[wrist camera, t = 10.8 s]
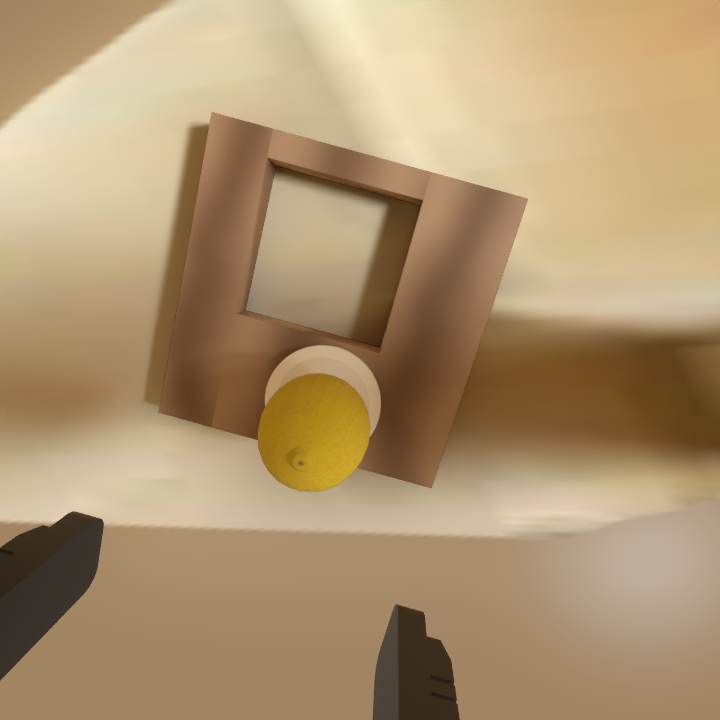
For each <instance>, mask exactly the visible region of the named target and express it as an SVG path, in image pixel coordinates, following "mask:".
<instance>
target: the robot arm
mask: <svg viewBox="0 0 720 720" xmlns="http://www.w3.org/2000/svg"><path fill="white" fill-rule="evenodd" d="M103 526H104V523H103V520H102V519H100V518H96V517H93V516H89V515H86V514H82V513H79V512H70V513H68V514H67V515H66V516H64V517H63V518H62V519H60V520H59V521H57V522H56V523H55V524H53V525H52V526H51V527H48V526H44V525H42V526H40V527H38V528H35V529H32V530H30V531H27V532H25V533H22V534H20V535H18V536H16V537H15V538H14V539H12V540H11V541H9V542H8V543H6V544H5V545H4V546H2V547H1V548H0V680H1V679H2V678H3V677H4V676H5V675H6V674H7V673H8V672H9V671H10V670H11V669H12V668H13V667H14V666H15V665H16V664H17V662H19V661H20V660H21V658H22V657H23V656H24V655H25V654H26V653H27V652H28V651H29V650H30V649H31V648H32V647H33V646H34V645H35V644H36V643H37V642H38V641H39V640H40V639H41V638H42V637H43V636H44V635H45V634H46V633H47V632H48V630H49V629H50V628H51V627H52V626H53V625H54V624H55V623H56V622H57V621H58V620H59V619H60V618H61V617H62V616H63V615H64V614H65V613H66V612H67V611H68V610H69V609H70V608H71V606H73V604H75V603H76V601H77V600H78V599H79V598H80V597H81V596H82V595H83V594H84V593H85V592H86V591H87V589H88V588H89V586H90V584H91V583H92V581H93V579H94V577H95V574H96V571H97V567H98V561H99V554H100V547H101V540H102V534H103ZM425 625H426V624H425V615H424V612H422V611H418V610H415V609H411V608H407V607H404V606H401V605H397V604H396V605H395V607H394V609H393V612H392V615H391V618H390V621H389V624H388V627H387V630H386V633H385V636H384V639H383V643H382V646H381V649H380V652H379V656H378V660H377V666H376V673H375V683H374V703H373V720H460V719H459V712H458V705H457V704H456V700H457V698H456V691H455V686H454V677H453V670H452V663H451V659H450V657H449V656H448V654H447V652H446V650H445V648H444V646H443V644H442V642H441V640H438V639H434V638H431V637H427V636H426V626H425Z"/></svg>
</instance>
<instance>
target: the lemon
mask: <svg viewBox="0 0 720 720" xmlns="http://www.w3.org/2000/svg"><path fill="white" fill-rule="evenodd" d="M369 436H370V420H369V413H368V410H367V408H366V405H365V403H364V401H363V399H362V397H361V396H360V395H359V393H358V392H357V391H356V389H355V388H353V387H352V386H351V385H350V384H348V383H347V382H346V381H344V380H342V379H340V378H338V377H336V376H333V375H328V374H323V373H314V374H306V375H303V376H300V377H296V378H294V379H292V380H290V381H289V382H287V383H286V384H284V385H283V386H281V387H280V388H279V389H278V390H277V391H276V392H275V393H274V395H273V396H272V397H271V398H270V399H269V401H268V403H267V405H266V407H265V409H264V411H263V413H262V415H261V419H260V424H259V429H258V447H259V451H260V454H261V457H262V460H263V463H264V464H265V466H266V468H267V469H268V471H269V472H270V473H271V474H272V475H273V476H274V477H275V478H276V479H277V480H278V481H279V482H281V483H282V484H284V485H286V486H287V487H289V488H292V489H296V490H299V491H306V492H316V491H323V490H326V489H329V488H331V487H333V486H336V485H338V484H339V483H341V482H342V481H343V480H345V479H346V478H347V477H349V476H350V475H351V474H352V473H353V471H354V470H355V469H356V467H357V466H358V465H359V464H360V462H361V461H362V459H363V456H364V454H365V452H366V449H367V447H368V443H369Z"/></svg>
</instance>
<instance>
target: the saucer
mask: <svg viewBox="0 0 720 720" xmlns="http://www.w3.org/2000/svg"><path fill="white" fill-rule="evenodd" d="M314 373H323V374H328V375H333V376H336V377H338V378H340V379H342V380H344V381H346V382H347V383H348V384H350V385H351V386H352V387H353V388H355V389H356V391H357V392H358V393H359V395H360V396H361V397H362V399H363V401H364V403H365V405H366V408H367V410H368V413H369V420H370V436H371V434H372V433H373V431H374V429H375V428H376V425H377V423H378V420H379V416H380V409H381V393H380V388H379V385H378V382H377V379H376V377H375V375H374V373H373V372H372V370H371V369H370V367H369V366H368V365H367V364H366V363H365V361H363V360H362V359H361V358H360V357H359V356H357V355H356V354H354V353H353V352H351V351H349V350H347V349H345V348H342V347H339V346H335V345H328V344H316V345H311V346H307V347H304V348H301V349H299V350H297V351H295V352H293V353H292V354H290V355H289V356H288V357H286V358H285V359H284V360H283V361H282V362H281V363H280V364H279V365H278V366H277V367H276V368H275V370H274V371H273V373H272V375H271V377H270V379H269V381H268V384H267V387H266V393H265V407H266V405H267V403H268V401H269V399H270V398H271V397H272V396H273V395H274V393H275V392H276V391H277V390H278V389H279V388H280V387H281V386H283V385H284V384H286V383H287V382H289V381H290V380H292V379H294V378H296V377H300V376H303V375H306V374H314ZM370 436H369V437H370Z"/></svg>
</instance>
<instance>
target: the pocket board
mask: <svg viewBox="0 0 720 720" xmlns="http://www.w3.org/2000/svg"><path fill="white" fill-rule="evenodd" d="M276 166H279V167H283V168H287V169H290V170H294V171H298V172H301V173H305V174H308V175H312V176H316V177H319V178H323V179H327V180H330V181H334V182H338V183H341V184H345V185H348V186H352V187H356V188H359V189H363V190H367V191H370V192H374V193H378V194H381V195H385V196H389V197H392V198H396V199H399V200H403V201H407V202H410V203H414V204H418V205H421V206H420V209H419V213H418V216H417V220H416V223H415V227H414V230H413V234H412V237H411V241H410V244H409V248H408V251H407V255H406V258H405V262H404V266H403V269H402V273H401V276H400V280H399V283H398V287H397V290H396V294H395V297H394V301H393V304H392V308H391V311H390V315H389V318H388V322H387V325H386V329H385V332H384V336H383V339H382V343H381V346H380V347H376V346H373V345H369V344H365V343H362V342H358V341H355V340H351V339H347V338H344V337H340V336H337V335H333V334H329V333H326V332H322V331H318V330H315V329H311V328H308V327H304V326H300V325H297V324H293V323H290V322H286V321H282V320H279V319H275V318H271V317H268V316H264V315H261V314H257V313H253V312H250V311H246V306H247V301H248V296H249V292H250V287H251V282H252V278H253V273H254V268H255V263H256V259H257V254H258V249H259V244H260V240H261V235H262V230H263V225H264V221H265V216H266V211H267V207H268V202H269V197H270V192H271V188H272V183H273V178H274V173H275V169H276ZM527 201H528V199H527V198H523V197H520V196H516V195H512V194H509V193H505V192H501V191H498V190H494V189H490V188H487V187H483V186H479V185H476V184H472V183H468V182H465V181H461V180H458V179H454V178H450V177H447V176H443V175H439V174H436V173H432V172H428V171H425V170H421V169H417V168H414V167H410V166H407V165H403V164H399V163H396V162H392V161H388V160H385V159H381V158H377V157H374V156H370V155H366V154H363V153H359V152H355V151H352V150H348V149H345V148H341V147H337V146H334V145H330V144H326V143H323V142H319V141H315V140H312V139H308V138H304V137H301V136H297V135H293V134H290V133H286V132H283V131H279V130H275V129H272V128H268V127H264V126H261V125H257V124H253V123H250V122H246V121H242V120H239V119H235V118H232V117H228V116H224V115H221V114H217V113H213V112H212V113H211V119H210V125H209V130H208V136H207V142H206V147H205V153H204V159H203V164H202V170H201V176H200V181H199V187H198V193H197V198H196V204H195V210H194V215H193V221H192V227H191V232H190V238H189V244H188V249H187V255H186V261H185V266H184V272H183V277H182V283H181V289H180V294H179V300H178V306H177V311H176V317H175V323H174V328H173V334H172V340H171V345H170V351H169V357H168V362H167V368H166V374H165V379H164V385H163V391H162V396H161V402H160V408H159V413H162V414H166V415H170V416H173V417H177V418H180V419H184V420H188V421H191V422H195V423H198V424H202V425H206V426H209V427H213V428H216V429H220V430H224V431H227V432H231V433H234V434H238V435H242V436H245V437H249V438H252V439H256V440H258V429H259V424H260V419H261V415H262V413H263V411H264V409H265V393H266V387H267V384H268V381H269V379H270V377H271V375H272V373H273V371H274V370H275V368H276V367H277V366H278V365H279V364H280V363H281V362H282V361H283V360H284V359H285V358H286V357H288V356H289V355H290V354H292V353H293V352H295V351H297V350H299V349H301V348H304V347H307V346H311V345H316V344H328V345H335V346H339V347H342V348H345V349H347V350H349V351H351V352H353V353H354V354H356V355H357V356H359V357H360V358H361V359H362V360H363V361H365V363H366V364H367V365H368V366H369V367H370V369H371V370H372V372H373V373H374V375H375V377H376V379H377V382H378V385H379V388H380V393H381V409H380V416H379V420H378V423H377V425H376V428H375V429H374V431H373V433H372V434H371V436H370V437H369V443H368V447H367V449H366V452H365V454H364V456H363V459H362V461H361V462H360V464H359V465H358V466H357V468H360V469H364V470H368V471H371V472H375V473H378V474H382V475H386V476H389V477H393V478H396V479H400V480H404V481H407V482H411V483H414V484H418V485H422V486H425V487H429V488H432V485H433V482H434V479H435V476H436V473H437V470H438V467H439V464H440V461H441V458H442V455H443V452H444V449H445V446H446V443H447V440H448V437H449V434H450V431H451V428H452V425H453V422H454V419H455V416H456V413H457V410H458V407H459V404H460V401H461V398H462V395H463V392H464V389H465V386H466V383H467V380H468V377H469V374H470V371H471V368H472V365H473V362H474V359H475V356H476V353H477V350H478V347H479V344H480V341H481V338H482V335H483V332H484V329H485V326H486V323H487V320H488V317H489V314H490V311H491V308H492V305H493V303H494V300H495V297H496V294H497V291H498V288H499V285H500V282H501V279H502V276H503V273H504V270H505V267H506V264H507V261H508V258H509V255H510V252H511V249H512V246H513V243H514V240H515V237H516V234H517V231H518V228H519V225H520V222H521V219H522V216H523V213H524V210H525V207H526V204H527Z"/></svg>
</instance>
